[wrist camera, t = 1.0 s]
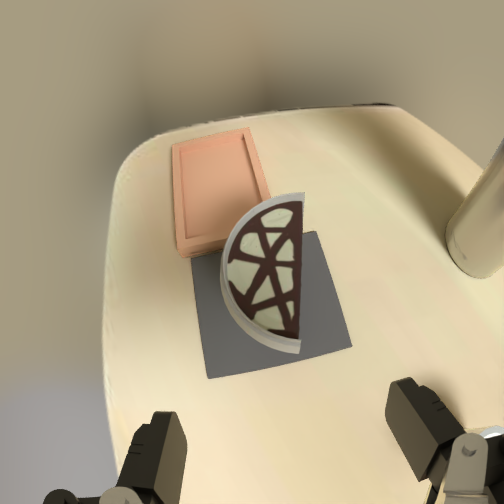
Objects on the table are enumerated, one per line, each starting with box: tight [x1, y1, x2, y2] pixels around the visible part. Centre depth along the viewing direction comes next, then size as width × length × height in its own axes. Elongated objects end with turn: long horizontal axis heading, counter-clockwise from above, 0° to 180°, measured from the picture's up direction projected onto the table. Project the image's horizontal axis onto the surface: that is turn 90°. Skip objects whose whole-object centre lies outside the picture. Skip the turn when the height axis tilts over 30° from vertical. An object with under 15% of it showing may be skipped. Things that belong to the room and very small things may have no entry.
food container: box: [220, 192, 305, 354], centre depth 25 cm, size 12×6×10 cm, turn 175°
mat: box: [191, 231, 352, 379], centre depth 29 cm, size 14×13×1 cm
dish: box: [172, 127, 271, 258], centre depth 36 cm, size 11×17×2 cm, turn 11°
